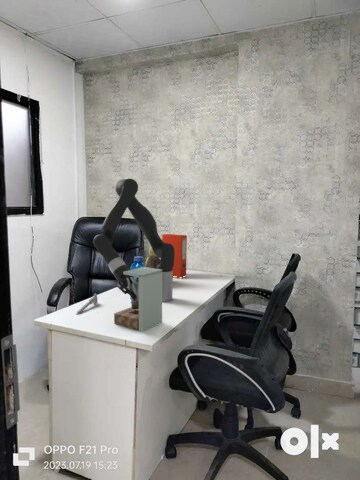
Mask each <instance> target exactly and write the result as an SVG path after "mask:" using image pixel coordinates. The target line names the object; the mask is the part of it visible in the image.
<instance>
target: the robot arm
mask: <svg viewBox="0 0 360 480" xmlns="http://www.w3.org/2000/svg"><path fill="white" fill-rule="evenodd" d="M114 185H115V187H114V188H115V192H116V194H117V195H118V199H117V201H116V202H115V204H114V205H113V207H112V208H111V209H110V211H109V212H108V213H107V215H106V217H105V219H104V221H103V223H102V226H101V230H102V233H101V234H97V235H95V236H94V237H93V239H92V244H93V246H94V248H95V249H96V250H97V252H98V253H99V254H100V255H101V257H102V258H103V259H104V261H105V263H106V265H107V266H108V268H109V270H110V271H111V273H112V275H113V276H114V278H115V279H116V281H117V284H116V285H115V286H116V287H117V288H118V290H119V291H121V292H122V293H123V294H125V295H127V294H128V295H129V297H130V298H131V300H132V299H133V300H136V299H137V296H136V295H135V293H134V292H133V291H132V288H131V283H132V282H139V277H135V276H130V275H125V274H123V272H124V271H128V270H130V268H129V267H128V265H127V264H126V263H125V261H124V260H123V259H122V257H121V256H120V254H119V253H118V251H117V250H115V249H114V247H113V246H112V245H113V242H114V240H115V239H114V238H115V234H116V231H117V229H118V226H119V224H120V222H121V220H122V218H123V216H124V214H125V212H126V211H127V209H128V210H129V213H130V214H131V215H132V218H134V220H135V222H136V224H137V226H138V227H139V228H140V230H141V231H142V233H143V235H144V236H145V238H146V240H147V241H148V243H149V245H150V247H152V249H153V251H154V253H155V255H156V256H157V257H158V258H159V259H161V263H160V264H159V265H157V269H161V270H162V303H163V302H165V303H167V302H171V301H173V289H174V288H173V284H174V283H173V278H174V277H173V266H174V257H175V250H174V247H173V245H172V244H170V243H164V242H163V241H162V237H161V236H160V235H159V233H158V227H157V226H158V225H157V222H156V220H155V217H154V216H153V214H152V213H151V211H150V210H149V209H148V208H147V207H146V206H144V204H142V203H141V202H140V201H139V200H138V199H137V197H136V195H137V193H138V190H139V184H138V182H137V180H136V179H134V178H124V179H119V180H118V181H116V183H115V184H114Z"/></svg>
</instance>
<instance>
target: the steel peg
mask: <svg viewBox="0 0 360 480" xmlns="http://www.w3.org/2000/svg"><path fill="white" fill-rule="evenodd" d="M131 288H132V291H133V292H134V293H135V295H136V296H137V299H136V300H133V299H132V298H131V307H132V309H139V282H132V283H131Z"/></svg>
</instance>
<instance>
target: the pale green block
mask: <svg viewBox="0 0 360 480" xmlns="http://www.w3.org/2000/svg"><path fill="white" fill-rule="evenodd" d="M123 274H125V275H130V276H133V277H135V278H137V277H138V278H139V330H138V331H139V332H142V333H144V332H146V331H147V330H150V329H152V328H154V327H156V326H157V325H160V324H162V323H163V302H162V270H161V269H154V268H147V267H145V266H142V267H139V268H134V269H129V270H128V271H124V272H123Z"/></svg>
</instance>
